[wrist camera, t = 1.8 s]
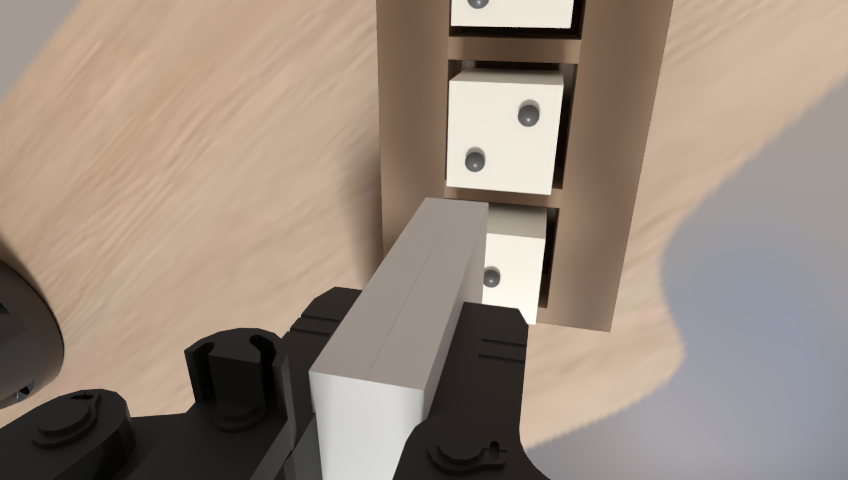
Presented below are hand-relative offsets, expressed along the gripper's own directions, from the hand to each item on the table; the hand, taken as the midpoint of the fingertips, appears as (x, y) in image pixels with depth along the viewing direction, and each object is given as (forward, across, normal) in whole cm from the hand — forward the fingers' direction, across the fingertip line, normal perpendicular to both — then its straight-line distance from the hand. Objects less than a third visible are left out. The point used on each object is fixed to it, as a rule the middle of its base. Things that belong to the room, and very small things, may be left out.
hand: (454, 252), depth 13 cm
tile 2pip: (+17, 0, 0) cm, 17 cm away
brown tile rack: (+18, 0, 0) cm, 18 cm away
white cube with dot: (+17, 0, -7) cm, 18 cm away
